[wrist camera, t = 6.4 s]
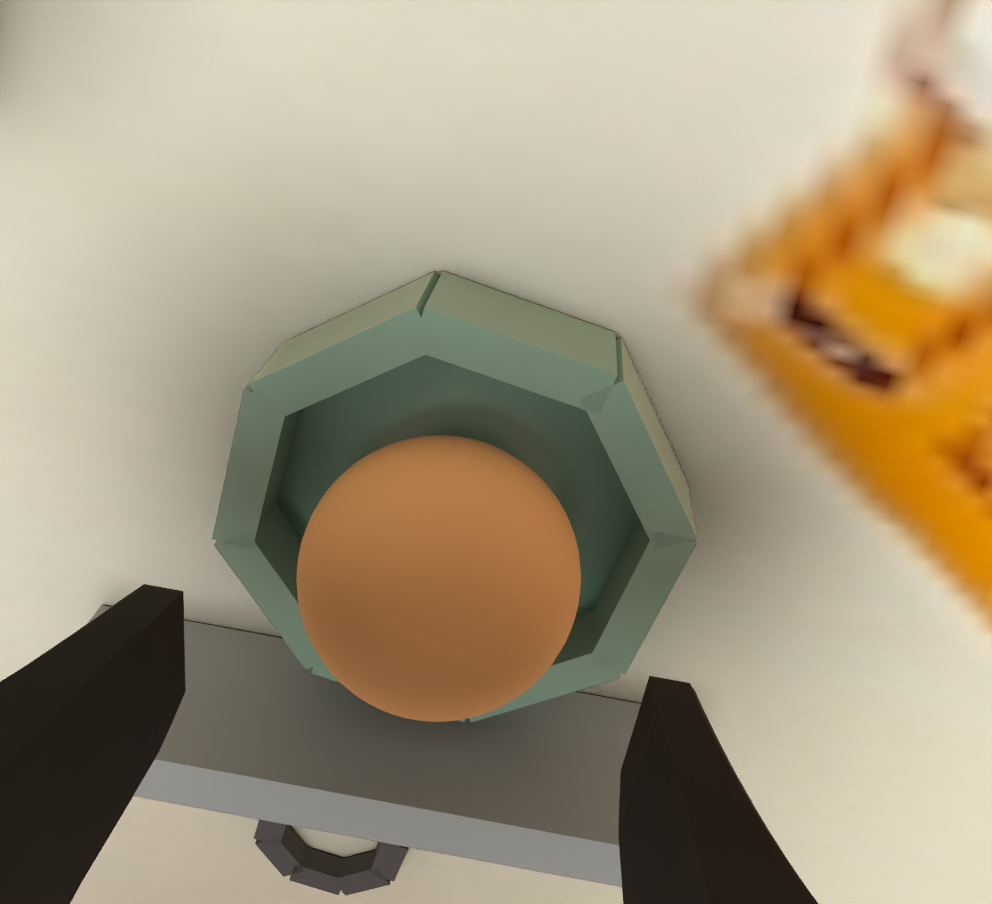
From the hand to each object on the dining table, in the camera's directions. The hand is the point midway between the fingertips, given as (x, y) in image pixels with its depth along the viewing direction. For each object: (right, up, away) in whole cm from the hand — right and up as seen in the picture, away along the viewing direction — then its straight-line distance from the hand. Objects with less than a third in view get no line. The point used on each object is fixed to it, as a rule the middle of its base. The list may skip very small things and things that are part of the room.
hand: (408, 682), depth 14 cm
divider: (-1, -2, +8) cm, 8 cm away
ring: (-3, -6, +10) cm, 13 cm away
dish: (+1, +3, +5) cm, 6 cm away
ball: (0, +1, +2) cm, 3 cm away
